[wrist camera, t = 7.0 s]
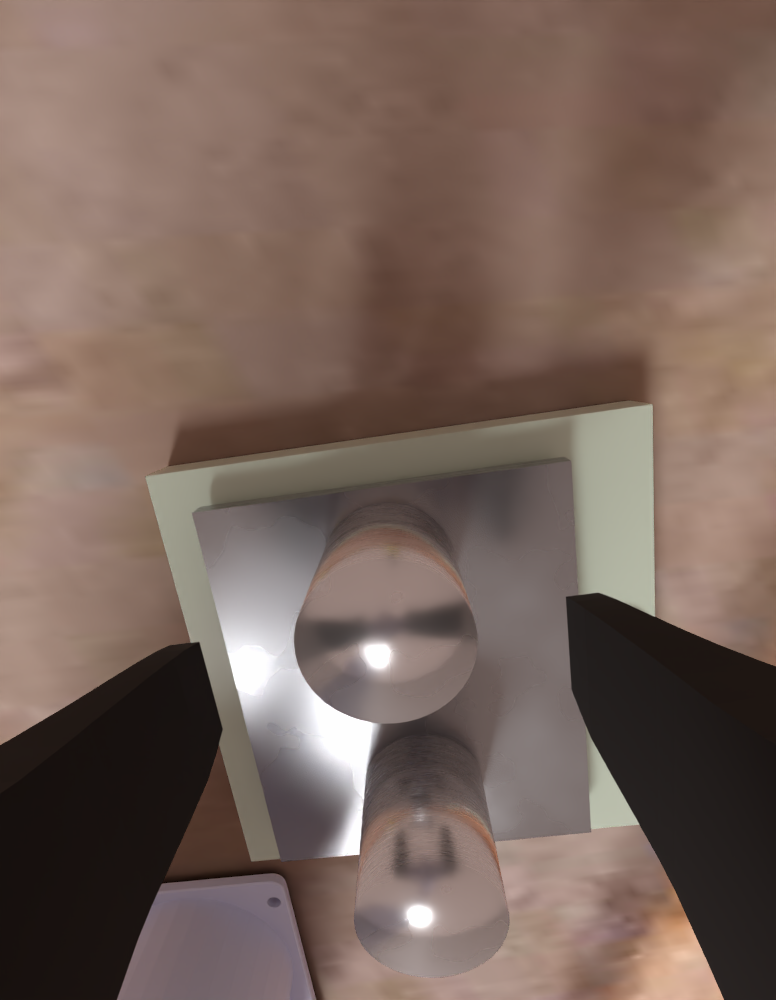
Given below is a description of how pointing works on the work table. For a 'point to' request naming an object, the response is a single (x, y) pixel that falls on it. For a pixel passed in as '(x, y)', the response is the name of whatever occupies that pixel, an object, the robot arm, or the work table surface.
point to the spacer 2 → (428, 861)
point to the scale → (565, 433)
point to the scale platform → (479, 704)
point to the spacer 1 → (386, 618)
